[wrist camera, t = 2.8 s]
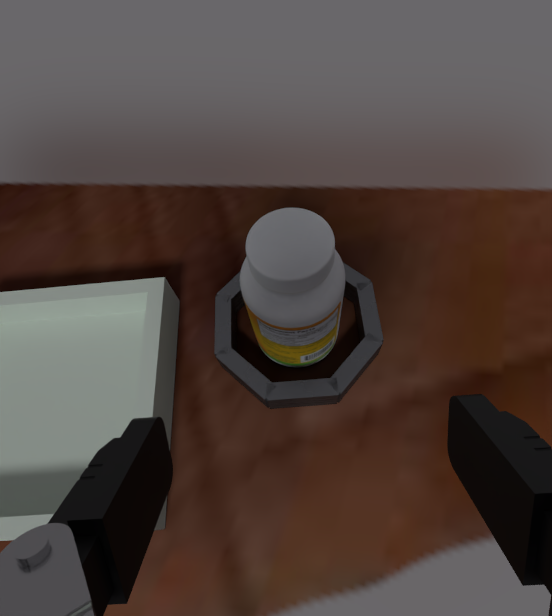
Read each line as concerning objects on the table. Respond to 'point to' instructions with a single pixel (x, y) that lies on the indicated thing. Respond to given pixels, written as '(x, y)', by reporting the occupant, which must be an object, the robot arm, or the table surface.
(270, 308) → the supplement bottle
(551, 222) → the table surface
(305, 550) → the table surface
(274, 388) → the holder ring
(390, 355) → the table surface
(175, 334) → the tray
